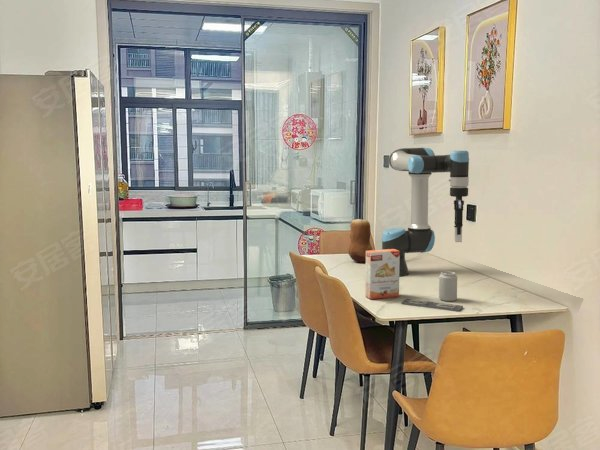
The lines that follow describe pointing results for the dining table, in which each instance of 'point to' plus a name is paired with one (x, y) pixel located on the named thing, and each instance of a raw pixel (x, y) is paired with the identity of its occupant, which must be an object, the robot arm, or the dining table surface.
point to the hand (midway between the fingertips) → (458, 241)
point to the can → (448, 286)
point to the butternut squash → (359, 240)
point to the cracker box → (382, 273)
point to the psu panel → (432, 305)
